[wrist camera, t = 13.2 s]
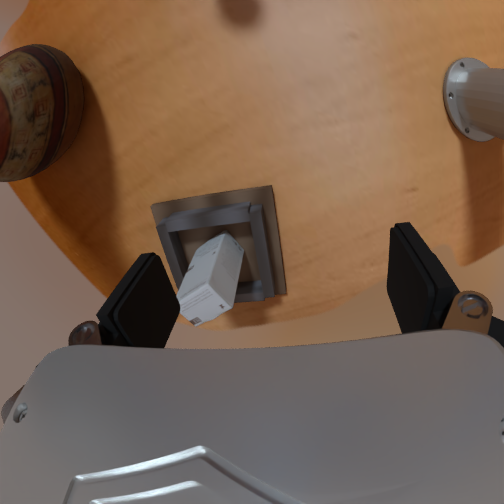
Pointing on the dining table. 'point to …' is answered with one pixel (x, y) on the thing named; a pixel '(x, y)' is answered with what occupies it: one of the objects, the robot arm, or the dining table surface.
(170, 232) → the socket stand
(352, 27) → the dining table surface
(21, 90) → the painted clay vase
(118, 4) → the dining table surface
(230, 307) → the skincare box
